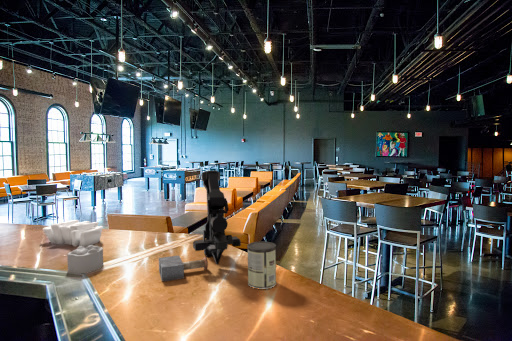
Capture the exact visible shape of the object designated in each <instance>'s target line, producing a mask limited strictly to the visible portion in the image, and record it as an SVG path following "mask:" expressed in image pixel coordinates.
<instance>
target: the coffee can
mask: <svg viewBox="0 0 512 341" xmlns="http://www.w3.org/2000/svg"><path fill="white" fill-rule="evenodd" d="M246 247H247V286H250V287H249V288H251V287H254V288H259V289H266V290H269V289H268V288H270V289H273V288H274V286H275V285H276V286H277V255H276V254H277V244H276V243H274V242H270V241H265V240H264V241H252V242H250V243H247V246H246ZM276 286H275V287H276ZM272 287H273V288H272ZM254 288H253V289H254Z"/></svg>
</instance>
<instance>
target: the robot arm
mask: <svg viewBox="0 0 512 341" xmlns="http://www.w3.org/2000/svg"><path fill="white" fill-rule="evenodd" d="M200 177H201V178H200V179H201V182H202V185H203V187H204V188H205V189H206V209H207V212H206V213H207V214H206V215H207V221H206V223H205V225H204V229H203V231H202V239H197V240H194V241H193V243H192V248H193V249H194V250H195V251H196V252H200V251H203V253H204V255H205V256H206V258H211V257H213V259H214V261H215V264H216V265H219V264H220V261H221V258H222V255H223V253H224V251H225V250H228V246H229V245H232V247H241V244H242V243H241V239H240V238H239V237H238V236H233V235H232V234H226V232H225V231H226V229H227V228H228V225H229V224H228V220H227V219H226V217H225V214H229V212H228V211H229V204H228V203H229V202H228V200H227V198H225V193H224V192H222V191H221V189H220V188H221V187H220V184H219V181H220V180H221V172H220V171H218V170H214V169H213V170H204V171H202V173H201V175H200Z"/></svg>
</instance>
